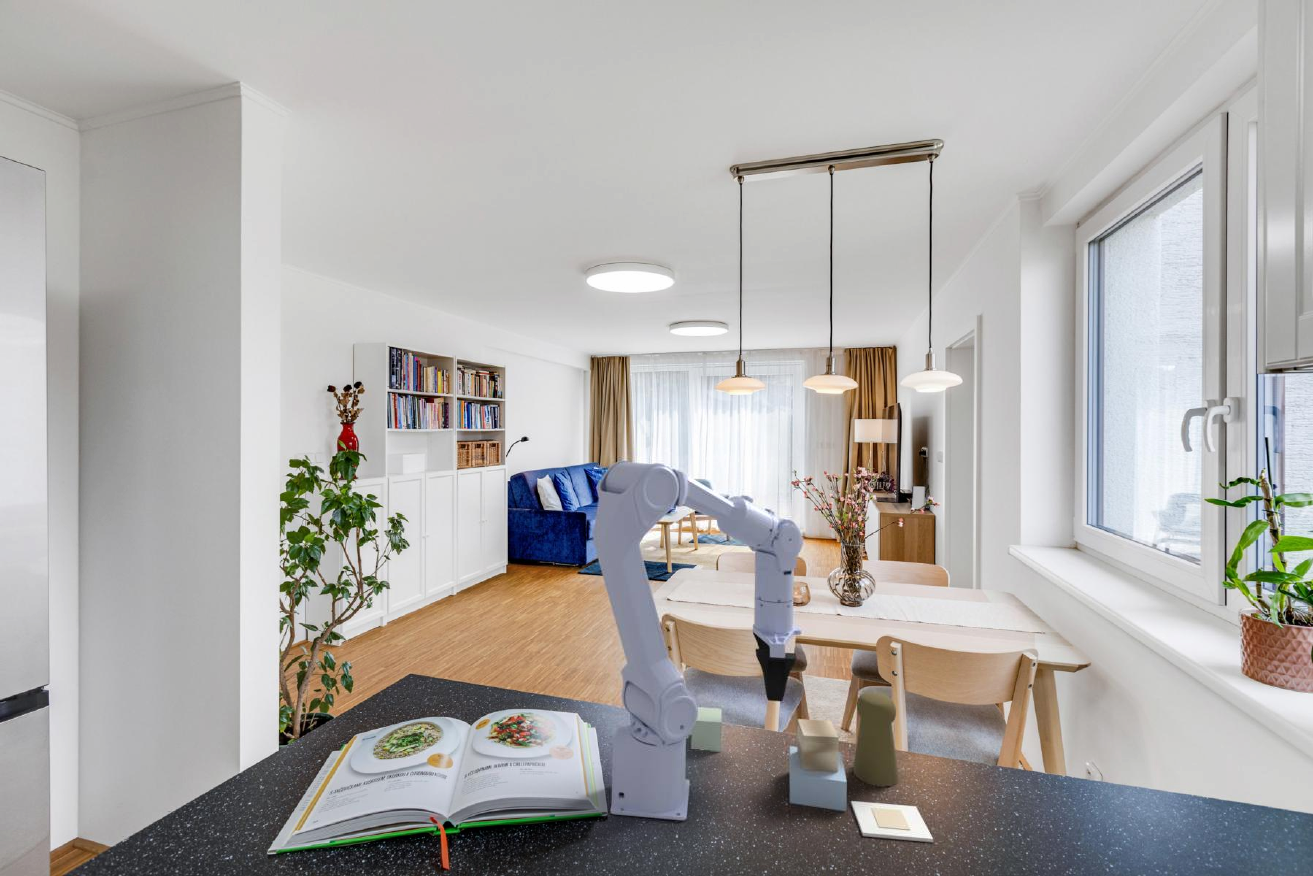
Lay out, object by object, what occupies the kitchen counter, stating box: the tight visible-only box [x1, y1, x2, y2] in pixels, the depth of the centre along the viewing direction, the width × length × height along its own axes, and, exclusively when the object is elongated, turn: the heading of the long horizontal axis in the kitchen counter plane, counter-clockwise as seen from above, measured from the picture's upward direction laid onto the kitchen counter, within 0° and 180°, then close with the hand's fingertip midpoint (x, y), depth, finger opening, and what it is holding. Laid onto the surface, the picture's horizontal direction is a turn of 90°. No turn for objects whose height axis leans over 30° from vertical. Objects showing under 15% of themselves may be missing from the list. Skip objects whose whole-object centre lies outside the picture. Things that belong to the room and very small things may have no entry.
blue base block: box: [789, 745, 848, 812], centre depth 76 cm, size 7×7×4 cm
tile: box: [850, 800, 934, 843], centre depth 70 cm, size 8×6×1 cm
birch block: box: [796, 718, 839, 772], centre depth 77 cm, size 4×4×4 cm
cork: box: [852, 691, 900, 788], centre depth 80 cm, size 6×6×11 cm
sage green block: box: [690, 706, 723, 753], centre depth 88 cm, size 4×4×4 cm
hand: (772, 688), depth 85 cm, fingers open, 7 cm apart
